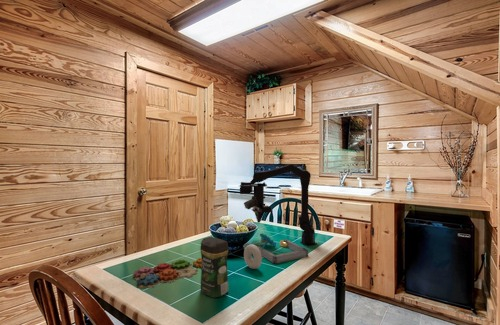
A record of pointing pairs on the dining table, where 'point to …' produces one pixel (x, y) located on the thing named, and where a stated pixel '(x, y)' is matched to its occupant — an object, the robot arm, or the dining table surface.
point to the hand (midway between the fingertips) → (258, 222)
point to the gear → (266, 240)
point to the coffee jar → (214, 267)
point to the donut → (256, 253)
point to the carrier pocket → (298, 253)
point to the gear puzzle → (165, 273)
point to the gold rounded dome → (284, 243)
